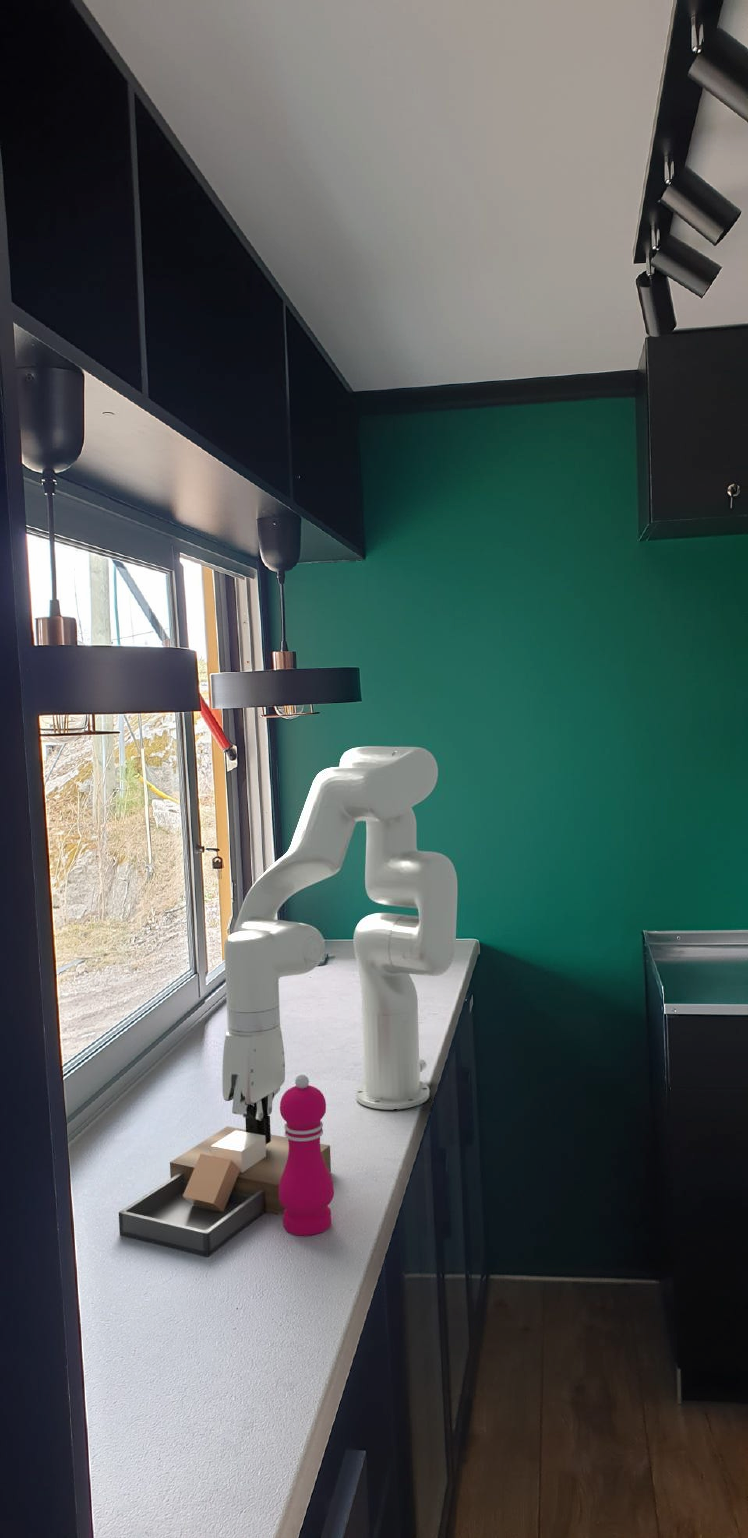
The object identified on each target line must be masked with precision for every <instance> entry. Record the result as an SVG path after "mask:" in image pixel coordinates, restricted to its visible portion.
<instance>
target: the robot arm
mask: <svg viewBox="0 0 748 1538" xmlns="http://www.w3.org/2000/svg"><path fill="white" fill-rule="evenodd" d="M438 774H439V767H438V763H437V760H436V759H435V757H434V755H433V754H432V753H431V751H429V750H427V749H426V748H424V747H419V746H379V745H377V746H375V745H374V746H373V745H372V746H370V745H369V746H360V747H354V748H351V749H349V750H347V751H345V752H344V753H343V755H342V756H341V758H340V762H339V766H336V767H335V766H334V767H329V768H325V769H323V770H322V771H320V772H319V773H318V774H317V775H316V777H315V778H314V780H313V781H312V785H311V787H310V790H309V793H308V795H307V798H306V801H305V803H304V807H303V810H302V812H301V815H300V818H299V821H298V823H297V827H296V829H295V832H294V834H293V837H292V841H291V844H290V846H289V848H288V850H287V851H286V853H285V854H283V856H281V857H280V858H278V859H277V860H276V861H275V862H274V863H273V864H272V865H270V866H269V867H268V868H267V869H266V870H265V872H264V873H262V875H261V876H260V877H259V878H258V879H257V880H256V881H255V882H254V883H253V885H252V886H251V887H250V889H249V890H248V892H247V894H246V895H245V897H244V900H243V902H242V904H241V908H240V910H239V913H238V916H237V918H236V922H235V925H234V929H233V932H232V933H231V934H230V935H228V936H227V938H226V939H225V941H224V971H225V972H224V974H225V994H226V995H225V998H226V1019H227V1020H226V1021H227V1032H226V1033H225V1037H224V1041H223V1042H224V1043H223V1044H224V1045H223V1051H222V1052H223V1053H222V1073H221V1074H222V1077H221V1079H222V1080H221V1082H222V1083H221V1084H222V1087H221V1088H222V1091H221V1092H222V1098H223V1100H224V1101H226V1102H230V1101H232V1110H231V1112H232V1114H234V1115H239V1116H242V1117H243V1118H244V1119H245V1130H246V1132H248V1133H254V1134H259V1135H265V1142H266V1144H268V1143H269V1142H271V1135H272V1133H271V1131H272V1130H271V1114H272V1111H273V1101H274V1098H275V1096H276V1095H277V1094H278V1093H279V1092H280V1090H281V1087H282V1086H283V1084H284V1083H285V1080H286V1060H285V1059H286V1058H285V1047H284V1039H283V1033H282V1027H281V1014H280V1013H281V1011H280V1009H281V1008H280V1007H281V1006H280V984H279V983H280V981H279V980H280V979H281V978H284V977H290V976H292V977H293V976H299V975H304V974H308V973H309V972H311V971H313V970H314V969H316V968H317V967H318V965H319V964H320V963H321V962H322V960H323V957H324V956H325V949H326V945H325V944H326V943H325V939H324V936H323V935H322V933H321V932H320V930H318V929H317V928H316V927H314V926H313V925H310V924H309V923H308V924H307V923H303V922H298V921H297V922H296V921H288V920H282V919H276V914H277V913H278V911H279V910H280V908H281V907H282V906H283V904H284V903H285V902H286V901H288V899H289V898H291V896H293V895H294V894H296V893H297V892H299V891H301V890H303V889H305V888H307V887H309V886H312V885H314V884H316V883H319V882H320V881H324V880H326V879H327V878H330V877H332V876H335V875H336V874H337V873H339V871H340V870H341V868H342V866H343V863H344V860H345V857H346V854H347V850H348V847H349V845H350V842H351V839H352V836H353V832H354V829H355V827H356V824H357V823H358V822H365V823H366V825H365V826H366V843H365V844H366V845H365V871H364V873H365V874H364V884H365V885H364V887H365V890H366V891H365V893H366V895H367V896H368V898H369V899H370V900H371V901H372V902H375V903H377V904H381V905H385V906H393V907H402V908H411V909H412V908H413V909H417V910H418V915H410V914H409V915H408V914H402V913H401V914H400V913H391V912H377V913H372V914H368V915H366V916H364V917H363V918H362V919H361V920H360V921H359V922H358V923H357V925H356V927H355V929H354V932H353V940H352V941H353V950H354V951H353V952H354V956H355V960H356V964H357V969H358V973H359V980H360V981H359V982H360V994H361V996H360V998H361V1019H362V1020H361V1024H362V1025H361V1026H362V1053H363V1055H362V1056H363V1057H362V1058H363V1082H364V1083H362V1084H360V1085H359V1086H358V1087H357V1088H356V1090H355V1099H356V1102H358V1103H359V1104H361V1106H362V1105H363V1106H365V1107H368V1108H370V1109H371V1108H372V1109H375V1110H385V1111H390V1110H392V1111H393V1110H394V1109H397V1110H404V1109H410V1108H415V1107H417V1106H419V1105H422V1104H423V1103H425V1102H426V1101H428V1099H429V1098H430V1088H429V1086H428V1085H427V1084H425V1083H424V1082H422V1081H421V1078H420V1077H421V1073H422V1072H423V1071H424V1070H426V1068H427V1062H426V1061H425V1059H422V1058H420V1040H419V1037H420V1036H419V1035H420V1034H419V1006H418V1005H419V1003H418V1002H419V1001H418V999H419V998H418V993H417V990H416V986H415V982H414V981H413V979H412V977H411V975H417V976H425V977H426V976H427V977H428V976H429V977H438V976H441V975H443V974H445V973H447V972H448V970H449V969H450V968H451V966H452V963H453V961H454V957H455V951H456V939H457V918H458V917H457V915H458V914H457V912H458V876H457V871H456V869H455V866H454V864H453V862H452V861H451V859H449V857H447V856H446V855H444V854H443V853H439V852H435V851H427V850H425V851H424V850H419V849H418V848H417V819H416V815H415V813H414V810H413V807H415V805H418V804H419V803H421V802H423V801H424V800H425V799H427V798H428V797H429V796H430V794H431V793H432V791H434V789H435V787H436V784H437V781H438V777H439V775H438Z"/></svg>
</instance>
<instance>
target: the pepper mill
mask: <svg viewBox="0 0 748 1538" xmlns="http://www.w3.org/2000/svg"><path fill="white" fill-rule="evenodd" d="M294 1081H295V1085H294V1086H292V1087H290V1088H288V1089H287V1090H286V1091H285V1092H284V1094H283V1095H282V1096H281V1098H280V1103H279V1113H280V1116H281V1117H282V1119H283V1120H284V1121H285V1124H284V1126H283V1128H284V1130H285V1131H284V1137H287V1138H288V1143H289V1152H288V1159H287V1163H286V1166H285V1169H284V1171H283V1174H282V1177H281V1179H280V1184H279V1200H280V1202H281V1204H282V1205H283V1206H284V1207H285V1208H286V1209H285V1210H283V1211H282V1219H283V1220H282V1222H283V1228H284V1230H285V1231H286V1232H287V1233H289V1234H292V1235H295V1236H301V1237H302V1236H305V1237H306V1236H314V1235H318V1234H321V1233H323V1232H325V1231H327V1230H328V1229H329V1228H330V1227H331V1225H332V1211H331V1210H332V1209H331V1208H330V1206H329V1204H331V1202H332V1201H333V1199H334V1197H335V1196H334V1195H335V1191H334V1190H335V1189H334V1182H333V1179H332V1176H331V1173H329V1171H328V1169H327V1167H326V1165H325V1163H324V1160H323V1158H322V1154H321V1148H320V1144H321V1136H323V1134H324V1129H323V1126H324V1123H323V1122H322V1119H323V1117H325V1114H326V1112H327V1111H326V1110H327V1103H326V1098H325V1095H324V1094H323V1092H322V1091H321V1090H320V1089H318V1088H317V1087H315V1086H312V1085H310V1084H309V1083H310V1080H309V1077H308V1076H307V1075H305V1074H299V1075H297V1076H296V1078H295V1080H294Z"/></svg>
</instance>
